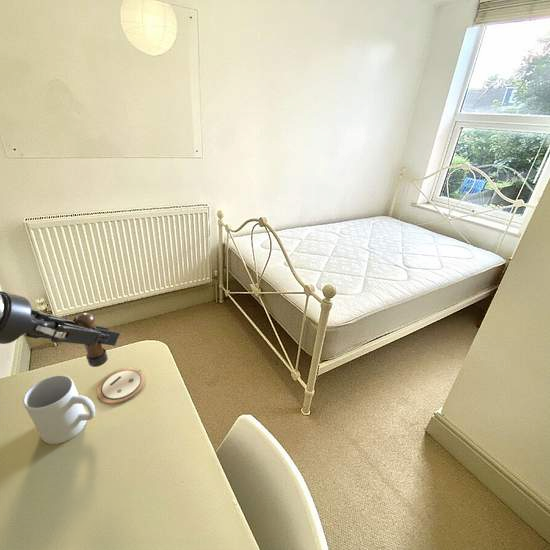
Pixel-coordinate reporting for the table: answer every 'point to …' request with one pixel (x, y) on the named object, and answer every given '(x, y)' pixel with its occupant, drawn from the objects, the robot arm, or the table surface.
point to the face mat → (121, 385)
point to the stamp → (94, 353)
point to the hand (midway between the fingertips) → (110, 336)
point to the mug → (57, 409)
